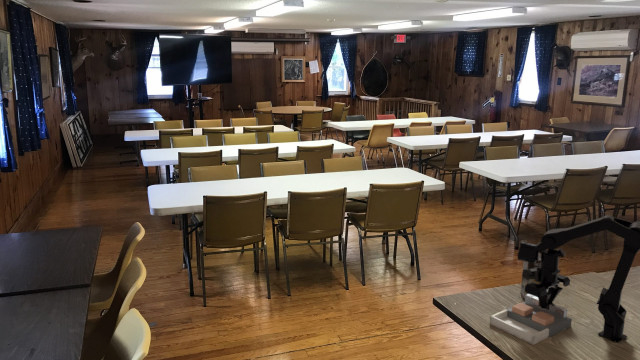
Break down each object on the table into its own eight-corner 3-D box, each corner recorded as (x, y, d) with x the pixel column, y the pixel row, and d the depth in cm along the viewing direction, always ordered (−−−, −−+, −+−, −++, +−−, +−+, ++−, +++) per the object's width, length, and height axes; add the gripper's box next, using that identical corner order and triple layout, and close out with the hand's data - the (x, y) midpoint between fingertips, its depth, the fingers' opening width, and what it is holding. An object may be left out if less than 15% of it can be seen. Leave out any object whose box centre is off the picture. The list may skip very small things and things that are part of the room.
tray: (505, 317, 181) (505, 309, 180) (548, 337, 167) (549, 329, 166) (489, 323, 176) (490, 315, 175) (532, 345, 162) (533, 336, 162)
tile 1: (520, 307, 181) (520, 302, 181) (532, 312, 177) (533, 307, 177) (511, 311, 179) (512, 306, 178) (524, 316, 175) (524, 311, 174)
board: (527, 307, 188) (528, 300, 187) (571, 326, 174) (571, 318, 173) (505, 317, 181) (506, 309, 180) (548, 337, 167) (549, 328, 166)
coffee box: (525, 299, 195) (528, 260, 191) (520, 292, 201) (523, 254, 198) (549, 300, 194) (553, 261, 190) (543, 293, 200) (547, 255, 197)
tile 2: (540, 316, 175) (540, 311, 174) (553, 322, 171) (554, 316, 170) (531, 320, 172) (532, 314, 172) (545, 326, 168) (545, 320, 168)
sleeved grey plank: (528, 302, 186) (529, 293, 185) (566, 318, 173) (567, 308, 173) (524, 303, 184) (525, 295, 184) (562, 320, 172) (563, 310, 171)
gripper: (544, 253, 187) (540, 292, 190) (512, 264, 177) (509, 305, 180) (572, 262, 178) (568, 303, 181) (541, 274, 168) (537, 317, 171)
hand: (545, 307), depth 178 cm, fingers open, 3 cm apart
